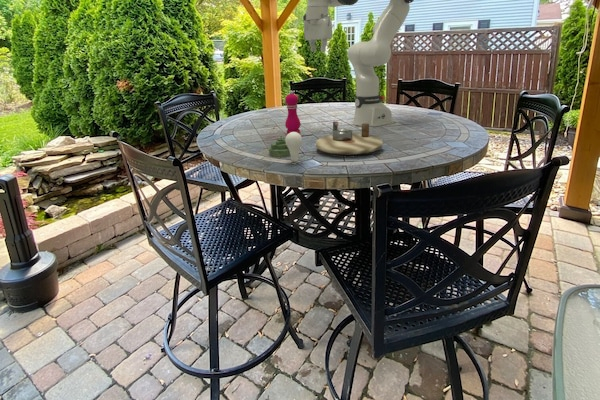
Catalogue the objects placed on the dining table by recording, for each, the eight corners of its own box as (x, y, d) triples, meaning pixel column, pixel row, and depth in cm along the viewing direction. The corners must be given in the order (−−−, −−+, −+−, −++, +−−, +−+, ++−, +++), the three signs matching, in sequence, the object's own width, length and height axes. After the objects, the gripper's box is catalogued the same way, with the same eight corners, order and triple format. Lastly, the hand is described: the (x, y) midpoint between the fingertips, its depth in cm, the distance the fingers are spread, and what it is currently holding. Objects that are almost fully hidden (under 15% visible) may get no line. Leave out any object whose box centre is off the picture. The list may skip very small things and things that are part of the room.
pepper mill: (299, 135, 173) (297, 91, 165) (284, 135, 174) (281, 91, 167) (302, 132, 179) (300, 89, 172) (287, 132, 181) (285, 89, 173)
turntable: (359, 134, 162) (359, 119, 160) (396, 147, 140) (397, 130, 138) (305, 142, 153) (304, 126, 151) (335, 158, 131) (335, 140, 129)
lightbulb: (292, 158, 139) (291, 129, 135) (306, 160, 136) (305, 131, 132) (283, 163, 135) (281, 133, 130) (296, 165, 131) (295, 134, 127)
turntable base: (357, 140, 159) (357, 137, 159) (384, 151, 142) (384, 147, 142) (315, 147, 152) (315, 143, 152) (339, 159, 135) (339, 155, 135)
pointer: (328, 139, 164) (327, 121, 161) (338, 138, 165) (338, 120, 162) (332, 142, 159) (331, 123, 156) (343, 141, 160) (343, 122, 157)
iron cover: (346, 135, 155) (346, 126, 154) (356, 139, 148) (356, 129, 147) (329, 138, 152) (329, 128, 151) (338, 142, 146) (338, 132, 144)
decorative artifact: (297, 150, 149) (274, 150, 152) (297, 133, 147) (273, 133, 149) (290, 158, 141) (265, 156, 143) (289, 139, 138) (264, 139, 141)
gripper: (336, 13, 145) (336, 51, 150) (314, 17, 162) (314, 51, 167) (321, 13, 142) (322, 51, 148) (301, 17, 160) (302, 51, 165)
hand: (318, 51), depth 158 cm, fingers open, 8 cm apart
